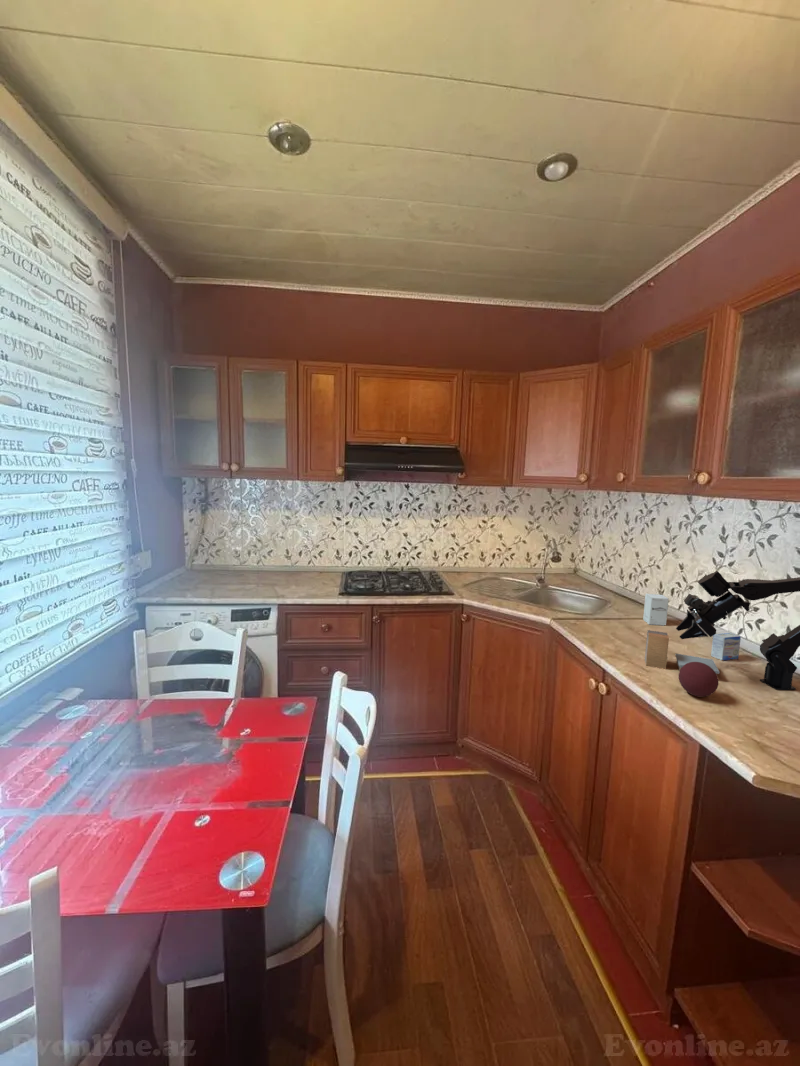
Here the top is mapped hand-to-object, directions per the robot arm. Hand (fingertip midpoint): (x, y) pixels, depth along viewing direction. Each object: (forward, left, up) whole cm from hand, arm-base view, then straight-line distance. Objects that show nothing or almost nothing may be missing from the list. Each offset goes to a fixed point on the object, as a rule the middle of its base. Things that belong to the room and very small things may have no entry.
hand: (678, 633), depth 152 cm
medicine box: (+9, -25, -12) cm, 29 cm away
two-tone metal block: (+3, +5, -12) cm, 14 cm away
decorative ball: (-19, +6, -12) cm, 24 cm away
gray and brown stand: (-3, -5, -12) cm, 14 cm away
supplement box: (+48, -23, -12) cm, 54 cm away
